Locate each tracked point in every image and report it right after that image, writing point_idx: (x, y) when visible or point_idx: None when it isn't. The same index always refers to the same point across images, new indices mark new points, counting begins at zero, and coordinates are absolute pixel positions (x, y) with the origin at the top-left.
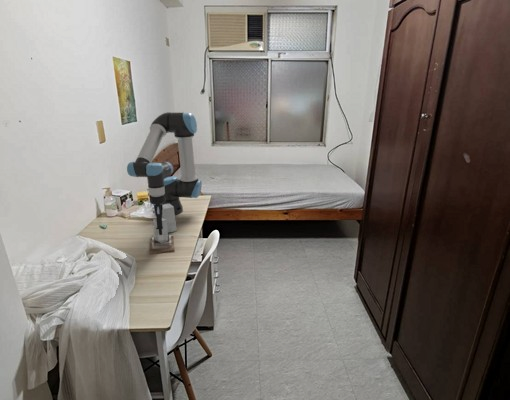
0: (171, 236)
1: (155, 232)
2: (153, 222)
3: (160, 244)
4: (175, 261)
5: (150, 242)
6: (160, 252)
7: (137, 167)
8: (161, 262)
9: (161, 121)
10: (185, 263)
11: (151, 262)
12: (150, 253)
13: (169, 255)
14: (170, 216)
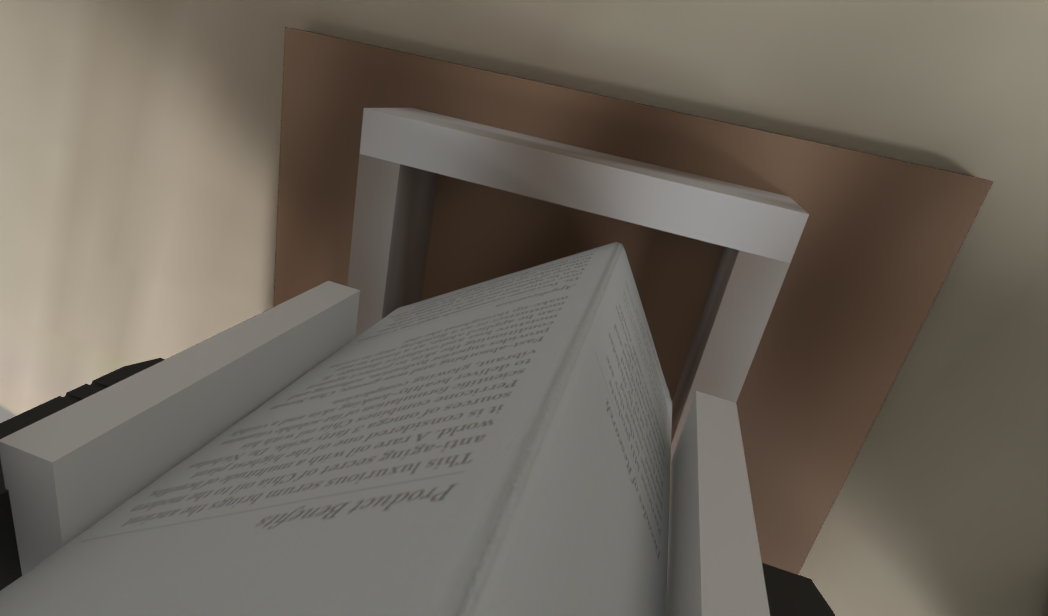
0: (770, 559)
1: (514, 325)
2: (448, 579)
3: (354, 280)
4: (53, 325)
5: (733, 132)
6: (287, 218)
7: None
8: (52, 161)
9: None
10: (4, 400)
11: (69, 22)
12: (292, 49)
13: (200, 310)
14: None
